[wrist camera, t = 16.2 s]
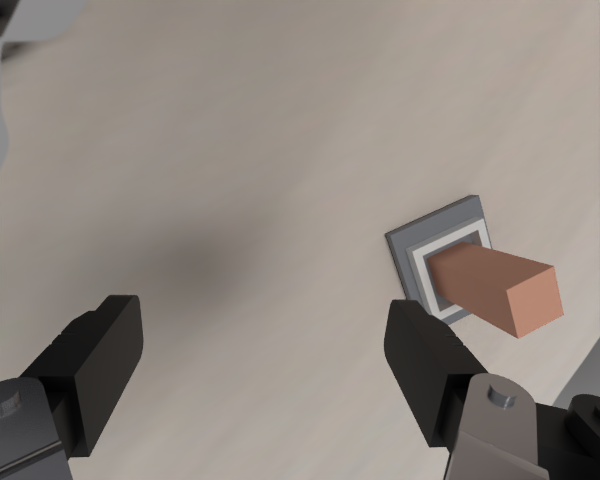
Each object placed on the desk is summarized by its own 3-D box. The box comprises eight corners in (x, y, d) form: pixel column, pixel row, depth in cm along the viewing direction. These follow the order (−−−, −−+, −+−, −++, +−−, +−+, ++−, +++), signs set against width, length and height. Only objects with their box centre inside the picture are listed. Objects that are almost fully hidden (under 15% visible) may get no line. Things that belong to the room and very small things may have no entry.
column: (426, 258, 41) (506, 290, 30) (462, 241, 42) (553, 266, 30) (437, 294, 42) (518, 338, 31) (472, 277, 43) (563, 314, 32)
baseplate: (385, 234, 41) (396, 237, 38) (471, 194, 42) (488, 196, 40) (418, 333, 44) (430, 343, 42) (497, 293, 46) (513, 300, 43)
